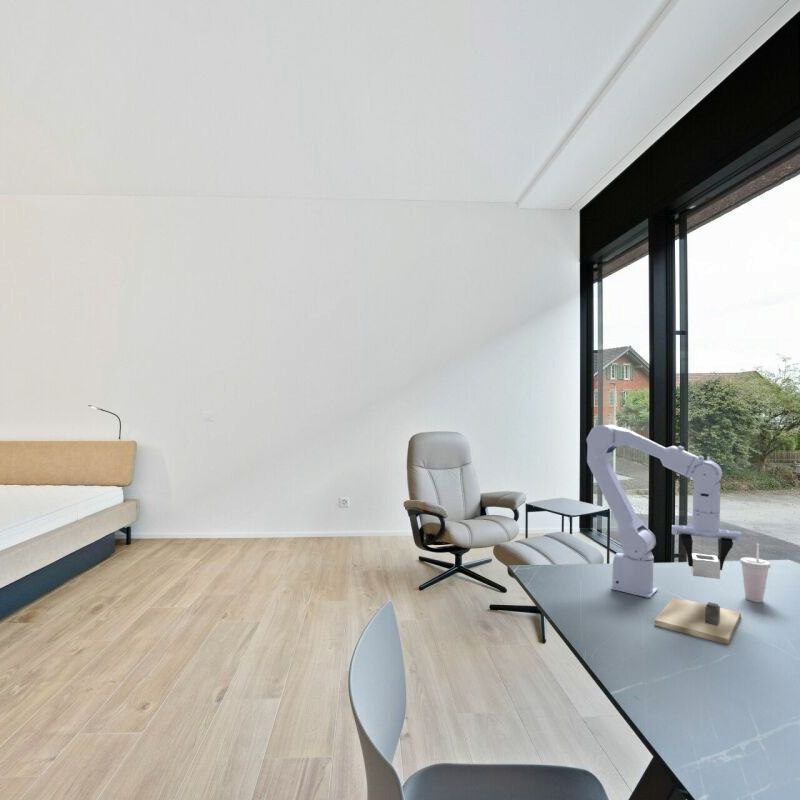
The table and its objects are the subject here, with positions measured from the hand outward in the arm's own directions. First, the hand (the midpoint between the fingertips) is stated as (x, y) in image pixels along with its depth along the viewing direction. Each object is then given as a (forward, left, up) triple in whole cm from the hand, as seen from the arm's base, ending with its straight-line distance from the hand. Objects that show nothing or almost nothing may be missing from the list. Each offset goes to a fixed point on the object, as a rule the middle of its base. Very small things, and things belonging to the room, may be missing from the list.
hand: (704, 567), depth 130 cm
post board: (+1, -11, -9) cm, 15 cm away
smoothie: (+9, +14, -10) cm, 19 cm away
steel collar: (0, 0, -2) cm, 2 cm away
